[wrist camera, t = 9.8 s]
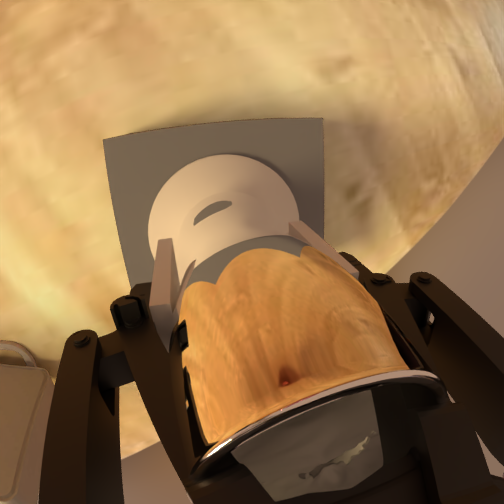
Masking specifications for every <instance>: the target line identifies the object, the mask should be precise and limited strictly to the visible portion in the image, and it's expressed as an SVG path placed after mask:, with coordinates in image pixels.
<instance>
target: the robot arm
mask: <svg viewBox="0 0 504 504" xmlns="http://www.w3.org/2000/svg"><path fill="white" fill-rule="evenodd" d="M289 234H290V235H292V236H294V237H296V238H298V239H300V240H302V241H304V242H306V243H308V244H310V245H312V246H313V247H315V248H316V249H318V250H320V251H321V252H323V253H324V254H326V255H327V256H329V257H331V258H332V259H334V260H335V261H336V262H338V263H339V264H340V265H341V266H342V267H344V268H345V269H346V270H347V271H348V272H349V273H350V274H352V275H353V276H354V277H355V278H356V279H357V280H358V281H360V282H361V283H362V284H363V285H364V286H365V287H366V288H367V290H368V291H369V292H370V293H371V294H372V295H373V296H374V297H375V298H376V299H377V300H378V301H379V302H380V304H381V305H382V306H383V307H384V308H385V309H386V310H387V311H388V313H389V314H390V315H391V316H392V318H393V319H394V320H395V321H396V323H397V324H398V325H399V326H400V328H401V329H402V330H403V331H404V333H405V334H406V335H407V337H408V338H409V339H410V341H411V342H412V343H413V345H414V346H415V348H416V349H417V350H418V352H419V353H420V354H421V356H422V357H423V358H424V360H425V361H426V362H427V364H428V365H429V366H430V368H431V369H432V370H433V372H434V373H435V374H436V375H437V376H438V377H440V378H441V380H442V381H443V382H444V384H445V386H446V389H447V391H448V393H449V394H450V395H451V397H452V398H453V400H454V401H455V402H456V403H452V402H451V401H450V399H449V396H448V394H447V401H446V402H444V403H442V404H436V403H435V399H434V396H433V394H432V393H431V391H430V390H429V389H427V388H425V387H423V386H419V385H412V384H400V385H391V386H385V387H380V388H376V389H372V390H371V393H372V398H373V403H374V408H375V413H376V418H377V424H378V429H379V435H380V441H381V447H382V453H383V467H381V468H380V469H378V470H377V471H376V472H374V473H373V474H371V475H370V476H369V477H367V478H366V479H364V480H363V481H361V482H360V483H358V484H357V485H355V486H354V487H352V488H349V489H343V490H335V491H325V492H314V493H307V494H303V495H300V496H296V497H292V498H288V499H284V500H280V501H276V502H275V501H274V500H273V499H272V497H271V496H270V495H269V494H268V493H267V491H266V490H265V489H264V488H263V486H262V485H261V484H260V483H259V481H258V480H257V479H256V477H255V476H254V475H253V474H252V472H251V471H250V470H249V469H248V468H247V467H246V466H245V465H244V464H241V463H239V462H238V461H237V460H236V459H235V457H234V456H233V455H232V453H231V452H230V453H229V454H227V455H226V456H225V457H224V458H222V459H221V460H220V461H219V462H218V463H217V464H216V465H215V466H214V467H213V468H212V469H211V470H210V471H209V472H208V474H207V475H206V476H205V477H203V478H200V479H194V480H192V479H189V478H188V468H187V462H186V456H185V452H184V447H183V442H182V438H181V433H180V428H179V424H178V419H177V414H176V408H175V402H174V396H173V389H172V382H171V370H170V356H169V332H170V325H171V320H172V315H173V311H174V306H175V302H176V298H177V295H178V292H179V288H180V281H179V275H178V270H177V264H176V258H175V252H174V246H173V240H172V238H167V239H160V240H158V244H157V250H156V257H155V264H154V271H153V278H152V282H147V283H139V284H136V285H135V286H134V287H133V288H132V289H131V291H130V295H126V296H122V297H120V298H118V299H116V300H115V301H113V303H112V304H111V305H110V311H111V314H112V317H113V320H114V323H115V326H116V328H117V330H116V331H114V332H113V333H110V334H108V335H105V336H102V337H99V338H98V335H97V333H95V332H94V331H92V330H81V331H77V332H75V333H73V334H72V335H71V336H70V337H69V338H68V339H67V341H66V343H65V346H64V350H63V354H62V358H61V362H60V366H59V370H58V374H57V378H56V383H55V387H54V392H53V396H52V401H51V407H50V412H49V417H48V423H47V429H46V435H45V442H44V449H43V457H42V466H41V476H40V488H39V504H124V495H123V484H122V473H121V455H120V429H119V386H122V385H125V384H128V383H130V382H133V381H135V382H136V385H137V387H138V390H139V392H140V395H141V397H142V400H143V402H144V404H145V407H146V409H147V411H148V414H149V416H150V418H151V421H152V423H153V425H154V427H155V429H156V432H157V434H158V436H159V438H160V440H161V442H162V444H163V446H164V448H165V451H166V453H167V455H168V457H169V458H170V461H171V462H172V465H173V466H174V468H175V470H176V472H177V474H178V476H179V478H180V480H181V481H182V483H183V485H184V487H185V490H186V492H187V493H188V495H189V497H190V499H191V500H192V502H193V504H504V473H503V478H502V477H498V476H494V475H491V474H490V472H489V469H488V466H487V463H486V460H485V457H484V454H483V451H482V448H481V445H480V442H479V440H478V437H477V434H478V435H479V437H480V438H481V440H482V441H483V443H484V444H485V446H486V447H487V448H488V450H489V451H490V452H491V454H492V455H493V456H494V457H495V458H496V459H497V460H498V461H499V462H500V463H501V464H502V465H503V466H504V338H503V337H502V336H501V335H500V334H499V333H498V332H497V331H495V329H493V328H492V327H491V326H490V325H489V324H488V323H487V322H486V321H485V320H484V319H483V318H482V317H481V316H480V315H478V314H477V313H476V312H475V311H474V310H473V309H472V308H471V307H470V306H469V305H467V304H466V303H465V302H464V301H463V300H462V299H461V298H460V297H458V296H457V295H456V294H455V293H454V292H453V291H451V290H450V289H449V288H448V287H447V286H446V285H445V284H443V283H442V282H441V281H440V280H439V279H437V278H436V277H435V276H433V275H431V274H429V273H427V272H416V273H413V274H412V275H411V276H410V282H409V283H395V281H394V280H393V279H392V277H390V276H388V275H386V274H382V273H372V272H371V271H370V270H369V269H368V268H366V267H365V266H364V265H362V263H361V262H359V261H358V260H357V259H356V258H355V257H354V256H352V255H350V254H348V253H345V252H340V253H338V252H337V251H336V250H334V249H333V248H332V247H331V246H330V245H329V244H328V243H327V242H325V241H324V240H323V239H322V238H321V237H320V236H319V235H317V234H316V233H315V232H314V231H313V230H312V229H311V228H309V227H308V226H307V225H306V224H305V223H304V222H303V221H293V222H289ZM431 313H432V314H433V316H434V321H433V324H432V323H431V322H430V321H429V318H430V314H431ZM475 431H476V432H477V434H476V432H475Z"/></svg>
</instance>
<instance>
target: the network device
mask: <svg viewBox="0 0 504 504" xmlns="http://www.w3.org/2000/svg"><path fill="white" fill-rule="evenodd" d="M0 349H2V350H12V351H16V352H18V353H19V354H20V355H21V356H22V357H23V359H24V361H25V364H26V366H17V365H8V364H0V504H37V500H38V493H39V487H40V476H41V466H42V457H43V449H44V442H45V435H46V429H47V423H48V417H49V412H50V407H51V401H52V396H53V392H54V387H55V386H54V384H53V381H52V379H51V377H50V375H49V372H48V371H47V370H46V369H44V368H39V367H37V365H36V362H35V360H34V358H33V356H32V355H31V354H30V353H29V352H28V350H27V349H25V348H24V347H23V346H21V345H19V344H18V343H15V342H12V341H3V340H0Z"/></svg>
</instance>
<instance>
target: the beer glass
mask: <svg viewBox="0 0 504 504" xmlns="http://www.w3.org/2000/svg"><path fill="white" fill-rule="evenodd" d="M178 247H179V253H180V257H181V259H182V262H183V264H184V266H185V268H186V271H185V273H184V276H183V279H182V282H181V285H180V288H179V292H178V295H177V298H176V302H175V306H174V311H173V315H172V320H171V325H170V332H169V356H170V370H171V382H172V389H173V396H174V402H175V408H176V414H177V419H178V424H179V428H180V433H181V438H182V442H183V447H184V452H185V456H186V462H187V468H188V478H189V479H192V480H194V479H200V478H203V477H205V476H206V475H207V474H208V472H209V471H210V470H211V469H212V468H213V467H214V466H215V465H216V464H217V463H218V462H219V461H220V460H221V459H222V458H224V457H225V456H226V455H227V454H229V453H230V452H231V453H232V455H233V456H234V457H235V459H236V460H237V461H238V462H239V463H241V464H244V465H245V466H246V467H247V468H248V469H249V470H250V471H251V472H252V474H253V475H254V476H255V477H256V479H257V480H258V481H259V483H260V484H261V485H262V486H263V488H264V489H265V490H266V491H267V493H268V494H269V495H270V496H271V497H272V499H273V500H274V501H275V502H276V501H280V500H284V499H288V498H292V497H296V496H300V495H303V494H307V493H314V492H325V491H335V490H343V489H349V488H352V487H354V486H355V485H357V484H358V483H360V482H361V481H363V480H364V479H366V478H367V477H369V476H370V475H371V474H373V473H374V472H376V471H377V470H378V469H380V468H381V467H383V453H382V447H381V441H380V435H379V429H378V424H377V418H376V413H375V408H374V403H373V398H372V393H371V390H372V389H376V388H380V387H385V386H391V385H400V384H412V385H419V386H423V387H425V388H427V389H429V390H430V391H431V393H432V394H433V396H434V399H435V403H436V404H442V403H444V402H446V401H447V389H446V386H445V384H444V382H443V381H442V380H441V378H440V377H438V376H437V375H436V374H435V373H434V372H433V370H432V369H431V368H430V366H429V365H428V364H427V362H426V361H425V360H424V358H423V357H422V356H421V354H420V353H419V352H418V350H417V349H416V348H415V346H414V345H413V343H412V342H411V341H410V339H409V338H408V337H407V335H406V334H405V333H404V331H403V330H402V329H401V328H400V326H399V325H398V324H397V323H396V321H395V320H394V319H393V318H392V316H391V315H390V314H389V313H388V311H387V310H386V309H385V308H384V307H383V306H382V305H381V304H380V302H379V301H378V300H377V299H376V298H375V297H374V296H373V295H372V294H371V293H370V292H369V291H368V290H367V288H366V287H365V286H364V285H363V284H362V283H361V282H360V281H358V280H357V279H356V278H355V277H354V276H353V275H352V274H350V273H349V272H348V271H347V270H346V269H345V268H344V267H342V266H341V265H340V264H339V263H338V262H336V261H335V260H334V259H332V258H331V257H329V256H327V255H326V254H324V253H323V252H321V251H320V250H318V249H316V248H315V247H313V246H312V245H310V244H308V243H306V242H304V241H302V240H300V239H298V238H296V237H294V236H292V235H290V234H288V233H285V232H283V231H281V230H280V229H279V226H278V223H277V221H276V219H275V217H274V215H273V213H272V212H271V211H270V209H269V208H268V207H267V206H266V205H265V204H264V203H263V202H262V201H260V200H259V199H257V198H256V197H254V196H252V195H249V194H246V193H242V192H236V191H226V192H219V193H216V194H213V195H210V196H208V197H206V198H204V199H202V200H201V201H199V202H198V203H197V204H196V205H195V206H193V207H192V209H191V210H190V211H189V212H188V213H187V215H186V216H185V218H184V220H183V222H182V224H181V227H180V231H179V236H178ZM186 493H187V492H186ZM187 495H188V493H187ZM188 498H189V500H190V501H191V502H192V500H191V499H190V497H189V495H188ZM192 503H193V502H192Z"/></svg>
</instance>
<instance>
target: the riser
mask: <svg viewBox="0 0 504 504" xmlns="http://www.w3.org/2000/svg"><path fill="white" fill-rule="evenodd" d="M103 145H104V153H105V160H106V167H107V174H108V181H109V187H110V193H111V199H112V204H113V210H114V215H115V220H116V225H117V230H118V235H119V239H120V244H121V249H122V253H123V257H124V262H125V266H126V270H127V274H128V278H129V282H130V286H131V289H132V288H133V287H134V286H135V285H136V284H139V283H147V282H152V278H153V271H154V264H155V257H156V250H157V244H158V240H160V239H167V238H172V240H173V246H174V252H175V258H176V264H177V270H178V275H179V281H180V285H181V282H182V279H183V276H184V273H185V271H186V268H185V266H184V264H183V262H182V259H181V257H180V253H179V247H178V236H179V231H180V227H181V224H182V222H183V220H184V218H185V216H186V215H187V213H188V212H189V211H190V210H191V209H192V207H193V206H195V205H196V204H197V203H198V202H199V201H201V200H202V199H204V198H206V197H208V196H210V195H213V194H216V193H219V192H226V191H236V192H242V193H246V194H249V195H252V196H254V197H256V198H257V199H259V200H260V201H262V202H263V203H264V204H265V205H266V206H267V207H268V208H269V209H270V211H271V212H272V213H273V215H274V217H275V219H276V221H277V223H278V226H279V229H280V230H281V231H283V232H285V233H288V234H289V222H293V221H303V222H304V223H305V224H306V225H307V226H308V227H309V228H311V229H312V230H313V231H314V232H315V233H316V234H317V235H319V236H320V237H321V238H322V239H323V240H324V141H323V118H271V119H252V120H237V121H225V122H214V123H204V124H195V125H186V126H178V127H171V128H163V129H157V130H150V131H144V132H138V133H132V134H127V135H122V136H117V137H112V138H108V139H104V140H103Z"/></svg>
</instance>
